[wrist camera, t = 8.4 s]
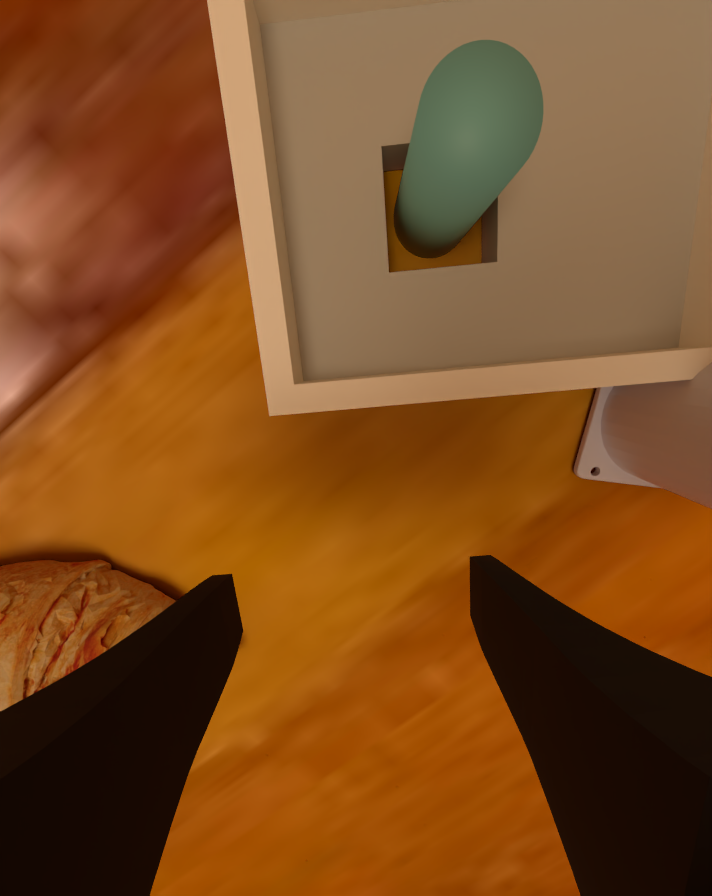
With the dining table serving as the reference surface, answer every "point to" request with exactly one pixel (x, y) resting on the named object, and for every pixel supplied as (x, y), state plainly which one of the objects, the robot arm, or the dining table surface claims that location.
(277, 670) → the dining table surface
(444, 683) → the dining table surface
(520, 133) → the peg
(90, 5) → the dining table surface
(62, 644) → the croissant
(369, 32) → the bore tray
